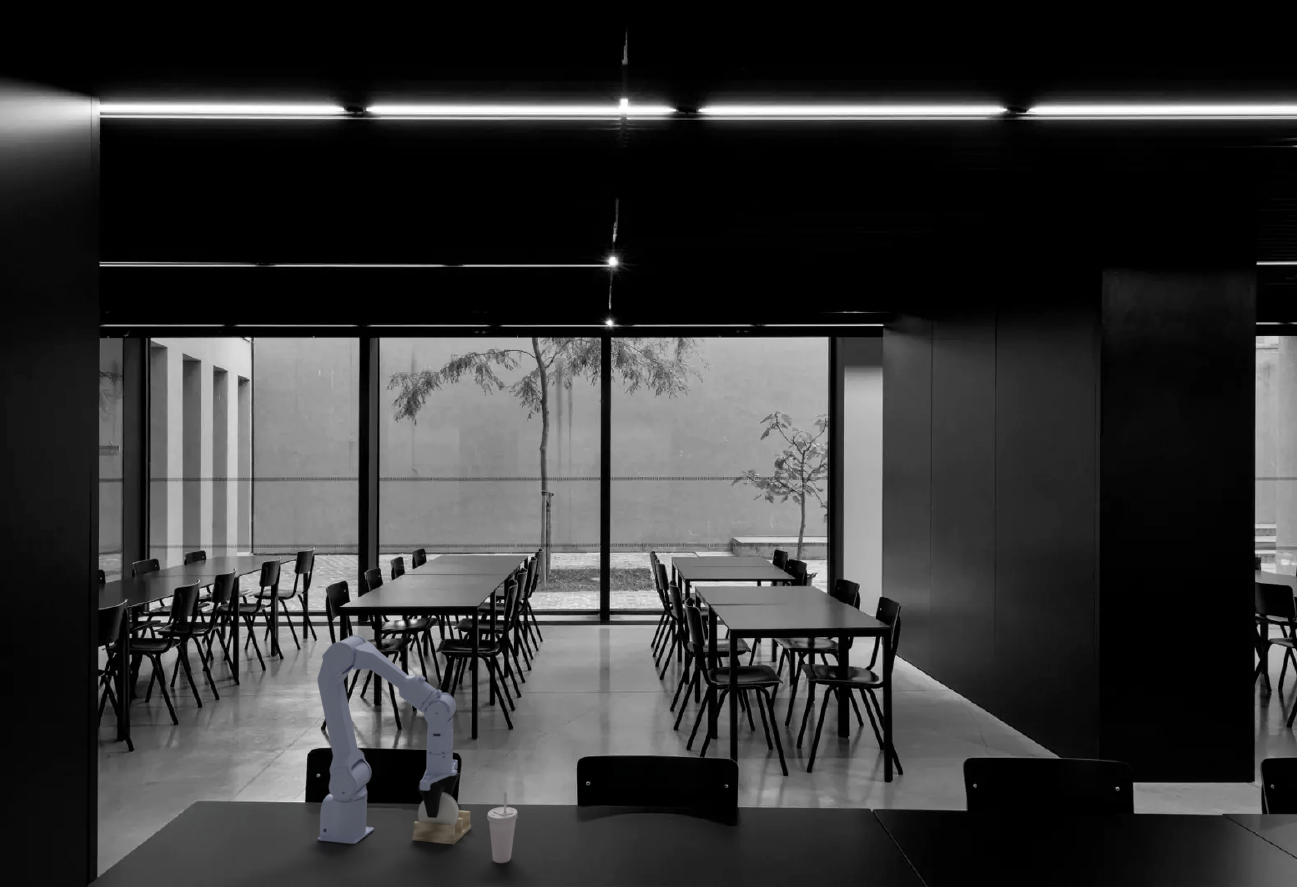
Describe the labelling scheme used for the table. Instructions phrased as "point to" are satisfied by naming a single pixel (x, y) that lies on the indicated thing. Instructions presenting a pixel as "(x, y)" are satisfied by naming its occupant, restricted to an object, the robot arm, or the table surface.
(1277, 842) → the table surface
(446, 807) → the plate
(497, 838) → the smoothie
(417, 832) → the rack
